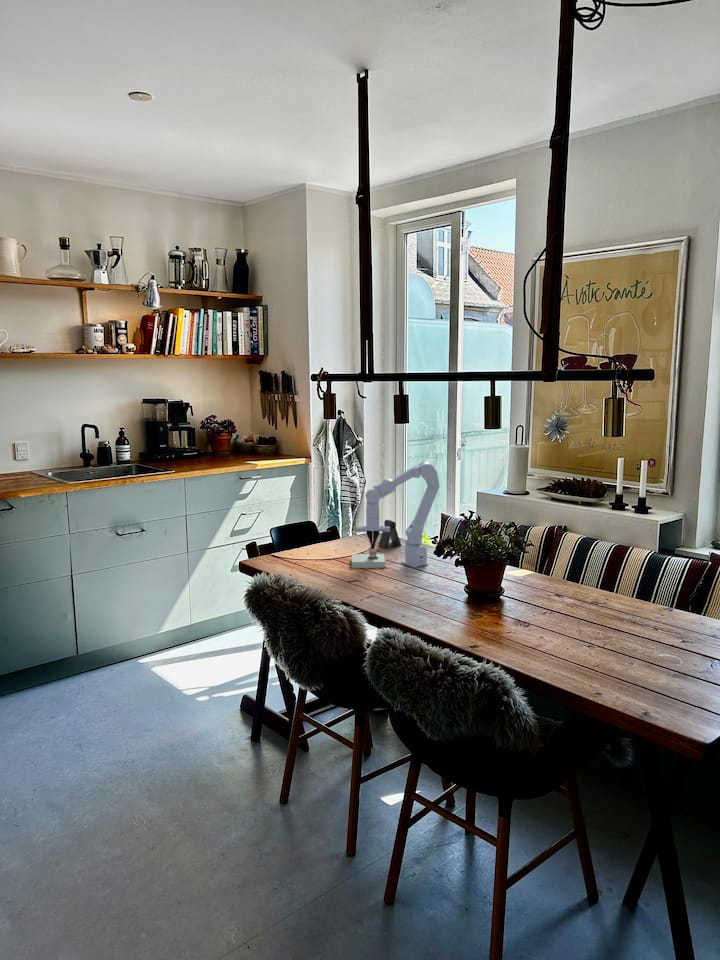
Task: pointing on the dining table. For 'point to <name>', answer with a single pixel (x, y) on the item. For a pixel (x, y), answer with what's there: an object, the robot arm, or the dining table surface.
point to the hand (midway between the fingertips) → (372, 548)
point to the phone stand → (386, 536)
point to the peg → (372, 553)
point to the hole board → (368, 561)
